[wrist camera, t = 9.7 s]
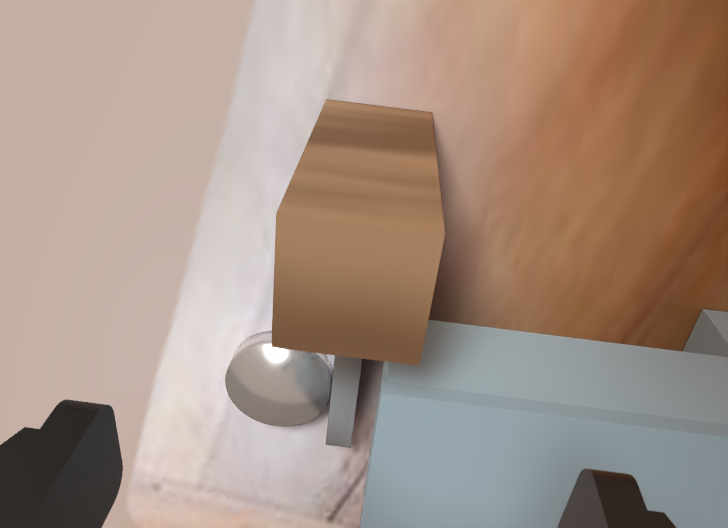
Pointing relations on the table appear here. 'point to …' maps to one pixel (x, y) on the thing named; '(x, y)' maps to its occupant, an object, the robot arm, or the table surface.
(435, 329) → the plinth shelf
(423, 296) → the wood grain block
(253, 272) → the table surface
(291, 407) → the silver metal disc
